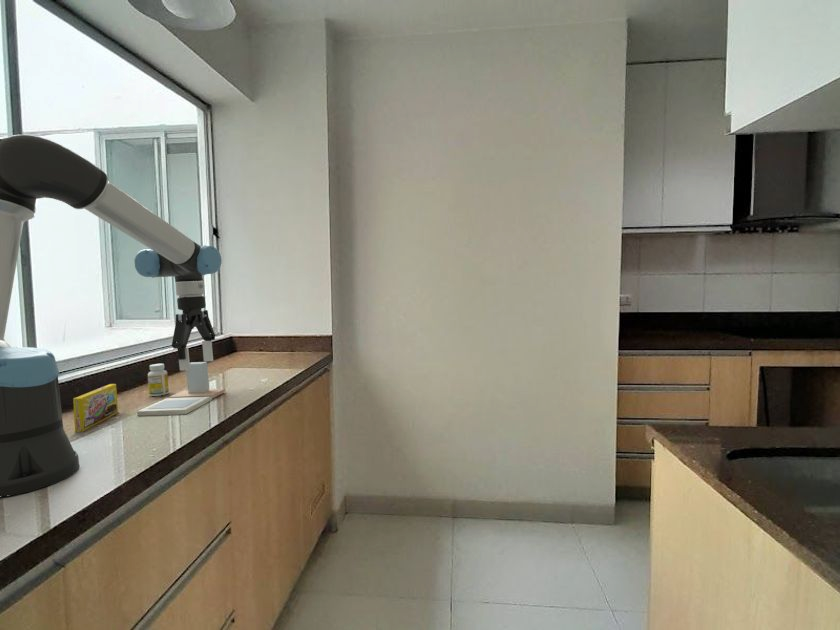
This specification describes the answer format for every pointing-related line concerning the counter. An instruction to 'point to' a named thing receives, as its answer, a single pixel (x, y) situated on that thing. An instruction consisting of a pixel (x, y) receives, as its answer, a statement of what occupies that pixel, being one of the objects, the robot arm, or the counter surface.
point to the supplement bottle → (158, 380)
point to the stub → (198, 382)
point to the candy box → (95, 407)
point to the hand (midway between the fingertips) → (197, 365)
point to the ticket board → (175, 405)
